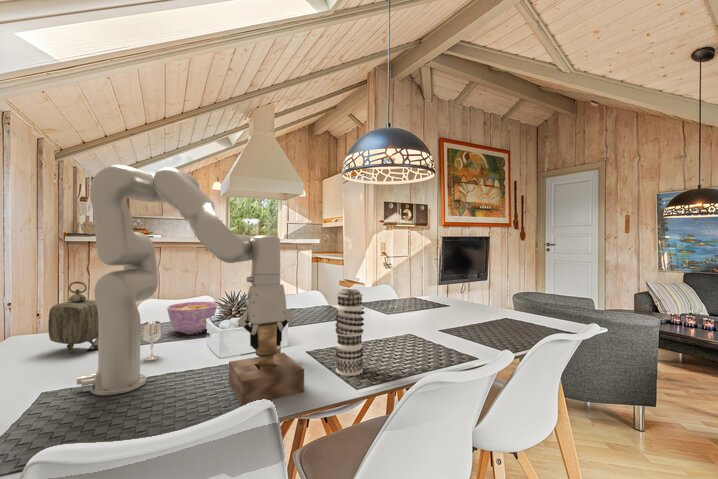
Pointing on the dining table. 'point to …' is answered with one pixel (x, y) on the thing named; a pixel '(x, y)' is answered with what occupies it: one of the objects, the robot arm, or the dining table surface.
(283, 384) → the socket block
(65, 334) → the tabletop clock
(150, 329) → the wineglass
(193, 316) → the bowl of food
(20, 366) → the dining table surface
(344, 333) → the patterned tall cylinder
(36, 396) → the dining table surface
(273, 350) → the oak peg
